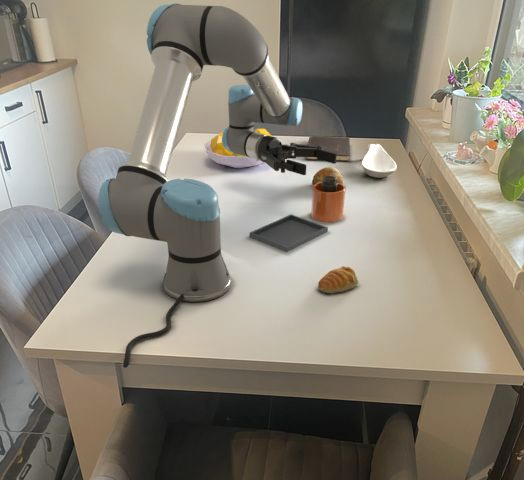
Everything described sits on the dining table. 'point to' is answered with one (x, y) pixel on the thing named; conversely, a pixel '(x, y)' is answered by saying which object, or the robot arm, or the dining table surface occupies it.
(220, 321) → the dining table surface
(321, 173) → the bread roll
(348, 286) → the pastry
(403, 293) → the dining table surface
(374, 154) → the spoon rest
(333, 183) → the pepper mill
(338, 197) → the pot
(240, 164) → the fruit bowl
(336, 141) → the hardcover book
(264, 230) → the tray
